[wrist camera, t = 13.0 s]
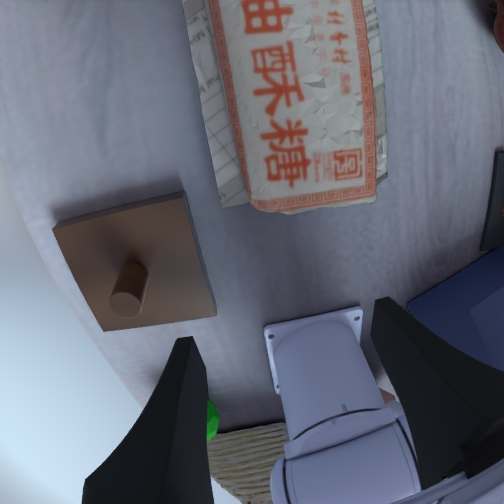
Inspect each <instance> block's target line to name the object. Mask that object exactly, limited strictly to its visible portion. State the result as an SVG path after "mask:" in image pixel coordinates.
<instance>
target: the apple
mask: <svg viewBox="0 0 504 504" xmlns="http://www.w3.org/2000/svg"><path fill="white" fill-rule="evenodd" d="M496 2H497V9H495V8H494V6H493V5H492V4H491V3H490V2H489V7H490V8H491V11H493V12H495V13H497V15H496V19H495V22H494V25H493V32H494V36H495V40H496V42H497V44H498V45H499V47H500V49H501V50H502V51H503V53H504V0H496Z"/></svg>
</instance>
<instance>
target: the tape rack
mask: <svg viewBox="0 0 504 504" xmlns="http://www.w3.org/2000/svg"><path fill="white" fill-rule="evenodd" d="M52 231H53V233H54V235H55V238H56V240H57V242H58V245H59V247H60V249H61V251H62V253H63V256H64V258H65V260H66V262H67V264H68V266H69V268H70V270H71V272H72V274H73V276H74V278H75V280H76V282H77V284H78V286H79V288H80V290H81V292H82V294H83V296H84V298H85V300H86V301H87V303H88V305H89V307H90V309H91V311H92V312H93V314H94V316H95V318H96V320H97V321H98V323H99V325H100V327H101V328H102V330H103V331H104V332H106V331H115V330H123V329H131V328H138V327H146V326H153V325H160V324H167V323H174V322H181V321H187V320H194V319H200V318H206V317H212V316H216V315H217V307H216V303H215V300H214V297H213V293H212V290H211V286H210V283H209V279H208V276H207V272H206V269H205V265H204V262H203V258H202V254H201V251H200V247H199V243H198V240H197V236H196V232H195V229H194V225H193V221H192V217H191V213H190V209H189V206H188V202H187V198H186V194H185V191H183V192H178V193H173V194H169V195H164V196H160V197H155V198H151V199H147V200H142V201H138V202H134V203H130V204H126V205H122V206H118V207H114V208H110V209H106V210H102V211H98V212H94V213H91V214H87V215H83V216H80V217H76V218H72V219H69V220H65V221H62V222H58V223H57V224H56V225H55V226H54V228H53V229H52Z"/></svg>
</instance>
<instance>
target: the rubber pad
mask: <svg viewBox="0 0 504 504" xmlns="http://www.w3.org/2000/svg"><path fill="white" fill-rule="evenodd" d="M503 208H504V151H501V152H495V163H494V172H493V180H492V188H491V194H490V201H489V207H488V213H487V218H486V223H485V228H484V233H483V238H482V242H481V247H480V250H481V251H482V252H483V251H487V250H490V249H494V248H497V247H501V246H502V245H504V216H503V214H504V213H503Z"/></svg>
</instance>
